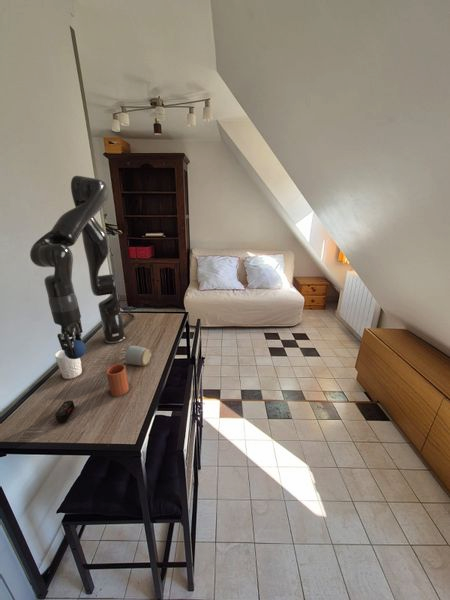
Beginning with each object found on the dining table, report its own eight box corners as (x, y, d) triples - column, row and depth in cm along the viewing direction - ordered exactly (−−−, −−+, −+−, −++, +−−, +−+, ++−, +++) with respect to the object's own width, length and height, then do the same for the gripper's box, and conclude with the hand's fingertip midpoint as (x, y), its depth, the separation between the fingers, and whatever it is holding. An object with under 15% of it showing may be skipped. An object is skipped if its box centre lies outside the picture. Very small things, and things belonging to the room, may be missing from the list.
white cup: (60, 382, 95) (53, 360, 91) (62, 371, 101) (55, 350, 98) (83, 376, 98) (78, 354, 95) (83, 365, 105) (78, 345, 101)
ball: (70, 353, 88) (66, 337, 86) (89, 351, 89) (86, 335, 87) (63, 364, 82) (59, 347, 80) (84, 361, 84) (80, 344, 81)
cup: (112, 385, 93) (108, 365, 90) (129, 383, 94) (126, 362, 91) (109, 397, 87) (104, 375, 84) (127, 394, 88) (124, 373, 85)
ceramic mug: (143, 369, 102) (141, 353, 99) (125, 367, 103) (123, 351, 101) (156, 356, 111) (154, 340, 109) (139, 353, 113) (137, 338, 111)
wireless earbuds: (77, 406, 83) (74, 398, 82) (66, 423, 76) (63, 415, 75) (62, 407, 83) (60, 399, 82) (50, 424, 76) (47, 416, 75)
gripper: (70, 314, 73) (81, 362, 79) (84, 298, 87) (93, 340, 92) (41, 317, 72) (55, 366, 78) (60, 300, 85) (71, 343, 91)
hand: (76, 352), depth 85 cm, fingers closed on ball, 6 cm apart
